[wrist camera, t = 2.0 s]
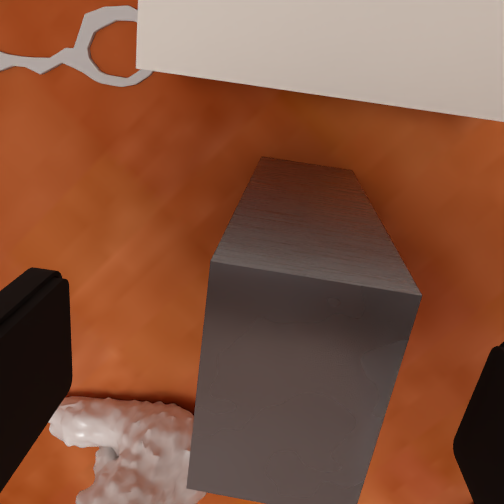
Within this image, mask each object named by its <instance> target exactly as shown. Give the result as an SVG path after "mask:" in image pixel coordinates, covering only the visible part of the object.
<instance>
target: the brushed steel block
mask: <svg viewBox="0 0 504 504" xmlns="http://www.w3.org/2000/svg"><path fill="white" fill-rule="evenodd" d="M421 298H422V294H421V293H420V291H419V289H418V287H417V285H416V284H415V282H414V280H413V278H412V277H411V275H410V273H409V271H408V269H407V268H406V266H405V264H404V262H403V260H402V259H401V257H400V255H399V253H398V251H397V250H396V248H395V246H394V244H393V243H392V241H391V239H390V237H389V235H388V234H387V232H386V230H385V228H384V226H383V225H382V223H381V221H380V219H379V217H378V216H377V214H376V212H375V210H374V209H373V207H372V205H371V203H370V201H369V200H368V198H367V196H366V194H365V192H364V191H363V189H362V187H361V185H360V183H359V182H358V180H357V178H356V176H355V174H354V173H353V171H352V170H346V169H340V168H333V167H327V166H320V165H314V164H307V163H301V162H294V161H287V160H281V159H274V158H268V157H261V159H260V161H259V163H258V165H257V167H256V169H255V171H254V173H253V175H252V177H251V179H250V181H249V183H248V185H247V187H246V189H245V191H244V193H243V196H242V198H241V200H240V202H239V204H238V206H237V208H236V210H235V212H234V214H233V216H232V218H231V220H230V222H229V224H228V226H227V228H226V230H225V233H224V235H223V237H222V239H221V241H220V243H219V245H218V247H217V249H216V251H215V253H214V255H213V257H212V259H211V262H210V271H209V281H208V290H207V299H206V309H205V318H204V327H203V337H202V346H201V355H200V365H199V374H198V383H197V393H196V402H195V411H194V421H193V430H192V439H191V449H190V458H189V467H188V477H187V486H186V489H192V490H197V491H202V492H208V493H213V494H218V495H224V496H229V497H234V498H240V499H245V500H250V501H256V502H261V503H266V504H357V503H358V499H359V496H360V493H361V490H362V487H363V483H364V480H365V477H366V474H367V471H368V467H369V464H370V461H371V458H372V455H373V451H374V448H375V445H376V442H377V439H378V436H379V432H380V429H381V426H382V423H383V420H384V416H385V413H386V410H387V407H388V404H389V400H390V397H391V394H392V391H393V388H394V384H395V381H396V378H397V375H398V372H399V368H400V365H401V362H402V359H403V356H404V352H405V349H406V346H407V343H408V340H409V336H410V333H411V330H412V327H413V324H414V320H415V317H416V314H417V311H418V308H419V304H420V301H421Z"/></svg>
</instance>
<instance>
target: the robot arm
mask: <svg viewBox="0 0 504 504" xmlns="http://www.w3.org/2000/svg"><path fill="white" fill-rule="evenodd" d="M71 383H72V351H71V324H70V297H69V283H68V280H66V279H62V276H61V273H60V272H58V271H53V270H47V269H40V268H33V267H32V268H30V269H28V270H27V271H25V272H24V273H23V274H21V275H20V276H19V277H18V278H16V279H15V280H14V281H13V282H11V283H10V284H9V285H7V286H6V287H5V288H4V289H2V290H1V291H0V493H1V491H2V490H3V488H4V487H5V485H6V484H7V482H8V481H9V479H10V478H11V476H12V475H13V473H14V472H15V470H16V469H17V467H18V466H19V464H20V463H21V462H22V460H23V459H24V457H25V456H26V454H27V453H28V451H29V450H30V448H31V447H32V445H33V444H34V442H35V441H36V439H37V438H38V436H39V435H40V433H41V432H42V430H43V429H44V428H45V426H46V425H47V423H48V422H49V420H50V419H51V417H52V416H53V414H54V413H55V411H56V410H57V408H58V407H59V405H60V404H61V402H62V401H63V399H64V398H65V397H66V395H67V393H68V392H69V389H70V387H71ZM453 450H454V455H455V458H456V460H457V463H458V465H459V468H460V470H461V472H462V475H463V477H464V480H465V482H466V484H467V487H468V489H469V492H470V494H471V496H472V499H473V501H474V504H504V342H503V343H502V344H501V345H500V346H496V347H494V348H493V349H492V350H491V352H490V354H489V356H488V359H487V361H486V363H485V366H484V368H483V371H482V373H481V375H480V378H479V380H478V383H477V385H476V387H475V390H474V392H473V395H472V397H471V399H470V402H469V404H468V407H467V409H466V411H465V414H464V416H463V419H462V421H461V423H460V426H459V428H458V431H457V433H456V435H455V438H454V443H453Z"/></svg>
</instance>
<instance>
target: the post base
mask: <svg viewBox="0 0 504 504" xmlns="http://www.w3.org/2000/svg"><path fill="white" fill-rule="evenodd" d="M136 68H137V69H144V70H151V71H158V72H165V73H171V74H178V75H185V76H192V77H199V78H206V79H213V80H219V81H226V82H233V83H240V84H247V85H254V86H261V87H268V88H274V89H281V90H288V91H295V92H302V93H309V94H316V95H322V96H329V97H336V98H343V99H350V100H357V101H364V102H371V103H377V104H384V105H391V106H398V107H405V108H412V109H419V110H425V111H432V112H439V113H446V114H453V115H460V116H467V117H474V118H480V119H487V120H494V121H501V122H504V0H138V19H137V50H136Z"/></svg>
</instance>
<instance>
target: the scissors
mask: <svg viewBox="0 0 504 504" xmlns="http://www.w3.org/2000/svg"><path fill="white" fill-rule="evenodd" d="M137 19H138V10H136V9H134V8H132V7H130V6H111V7H103V8H100V9H97V10H95V11H92V12H89V13H87V14H85V15H84V19H83V22H82V25H81V28H80V31H79V34H78V37H77V40H76V43H75V46H74V48H65V49H63V50H62V51H60V52H59V53H57V54H55V55H54V56H52V57H51V58H32V57H22V56H16V55H10V54H7V53H4V52H1V51H0V72H1V71H4V70H7V69H9V68H12V67H14V66H21V67H26V68H29V69H31V70H33V71H35V72H37V73H39V74H45V73H46V72H48V71H50V70H52V69H54V68H56V67H58V66H59V65H61V64H63V63H64V64H66V65H68V66H71V67H73V68H75V69H77V70H79V71H81V72H83V73H85V74H86V75H87V76H89V77H90V78H92V79H93V80H95V81H97V82H99V83H102V84H108V85H113V86H120V87H125V86H130V85H136V84H139V83H140V82H142V81H143V80H144V79H146V78H147V77H149V76H150V75H152V73H153V72H154V71H151V70H144V69H141V70H139V71H138V72H136V73H135V74H133V75H132V76H130V77H129V78H124V77H118V76H112V75H108V74H106V73H103V72H101V70H100V69H99V68H98V67H97V65H96V64H95V63H94V61H93V60H92V59H91V54H90V49H89V48H90V46H91V43H92V41H93V39H94V36H95V34H96V32H97V31H99V30H101V29H103V28H104V27H106V26H108V25H110V24H112V23H114V22H116V21H135V22H137Z"/></svg>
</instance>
